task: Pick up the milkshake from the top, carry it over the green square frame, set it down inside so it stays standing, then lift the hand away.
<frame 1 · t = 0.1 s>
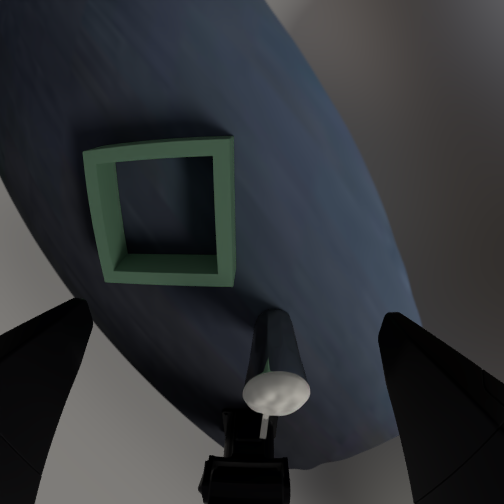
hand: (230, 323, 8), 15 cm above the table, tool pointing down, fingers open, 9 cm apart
green square frame: (167, 205, 22), on the table
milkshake: (271, 325, 27), on the table
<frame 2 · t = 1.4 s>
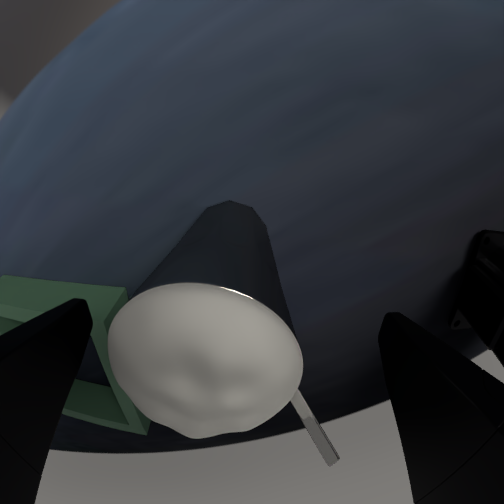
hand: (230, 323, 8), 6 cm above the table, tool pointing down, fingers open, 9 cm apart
green square frame: (76, 344, 17), on the table
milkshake: (239, 236, 14), on the table
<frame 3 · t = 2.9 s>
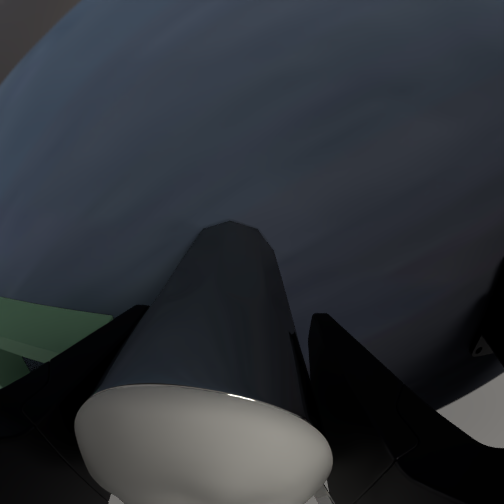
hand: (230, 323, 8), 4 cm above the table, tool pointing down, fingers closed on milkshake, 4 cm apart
green square frame: (64, 369, 15), on the table
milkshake: (242, 262, 12), on the table, touching gripper
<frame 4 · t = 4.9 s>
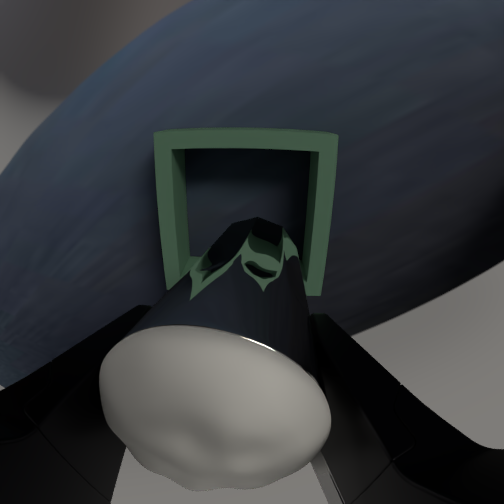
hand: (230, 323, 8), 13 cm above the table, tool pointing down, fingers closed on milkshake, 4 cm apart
green square frame: (246, 203, 20), on the table
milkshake: (266, 256, 13), point 8 cm above the table, touching gripper
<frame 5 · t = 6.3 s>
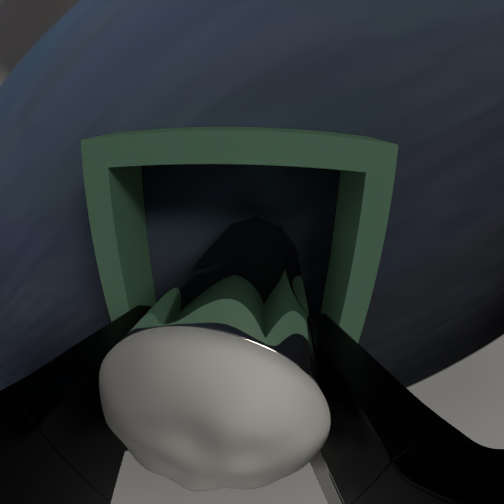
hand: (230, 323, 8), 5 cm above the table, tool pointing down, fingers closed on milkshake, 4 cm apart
green square frame: (237, 247, 13), on the table
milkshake: (266, 257, 13), point 1 cm above the table, touching gripper
when the fingers open (5 cm above the table, at t = 7.1 s): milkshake stays where it is, on the table.
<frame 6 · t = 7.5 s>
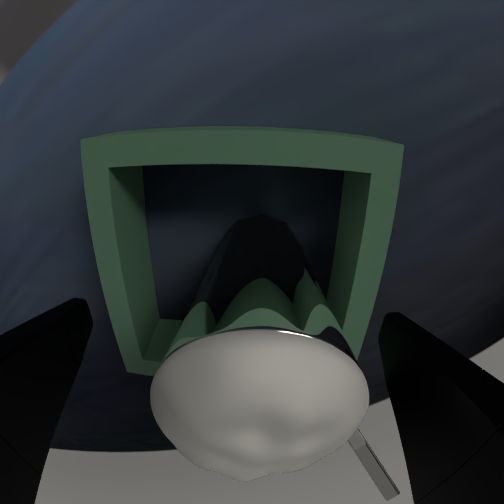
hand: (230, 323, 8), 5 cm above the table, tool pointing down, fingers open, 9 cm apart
green square frame: (240, 248, 13), on the table
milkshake: (269, 251, 13), on the table
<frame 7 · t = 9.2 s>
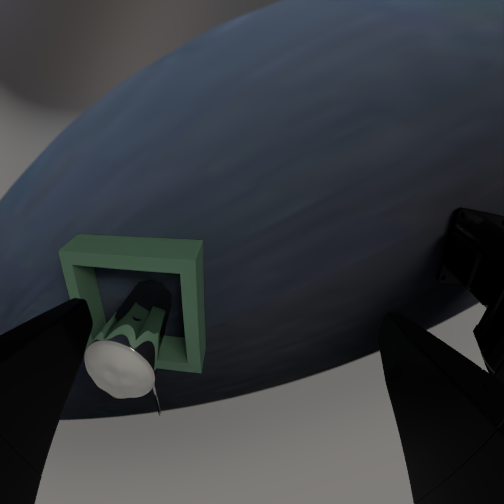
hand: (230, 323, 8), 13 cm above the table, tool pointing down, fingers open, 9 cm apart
green square frame: (142, 295, 23), on the table
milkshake: (157, 297, 23), on the table
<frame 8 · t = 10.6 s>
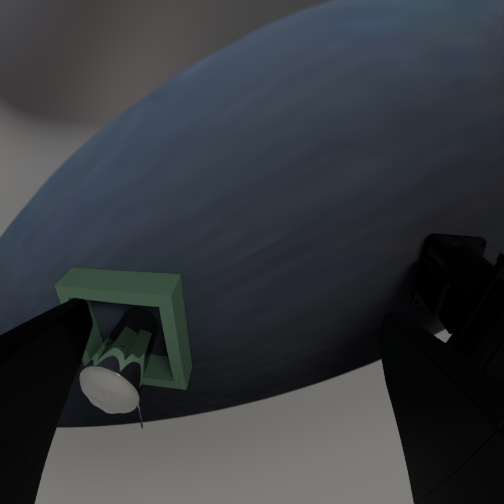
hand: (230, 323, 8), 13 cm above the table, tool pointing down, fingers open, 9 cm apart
green square frame: (132, 320, 25), on the table
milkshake: (146, 322, 25), on the table
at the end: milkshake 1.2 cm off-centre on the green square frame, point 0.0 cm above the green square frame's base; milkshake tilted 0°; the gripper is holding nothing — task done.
